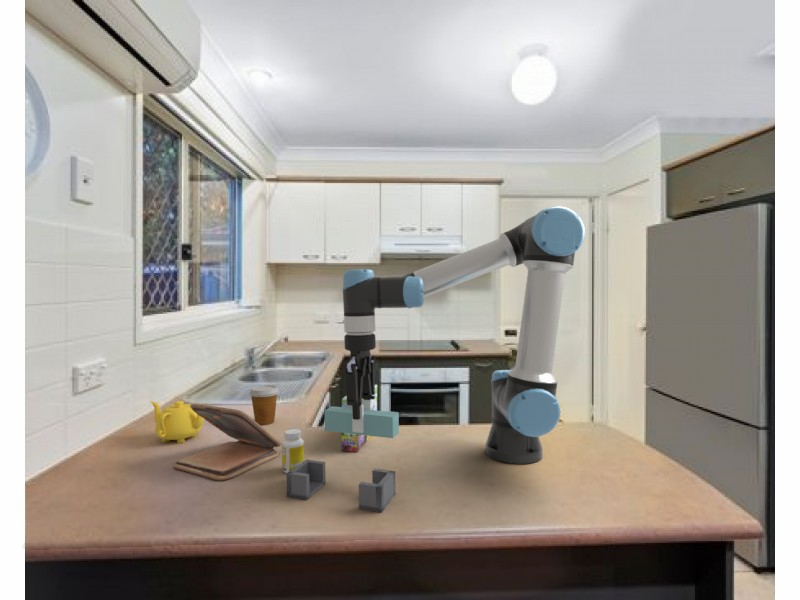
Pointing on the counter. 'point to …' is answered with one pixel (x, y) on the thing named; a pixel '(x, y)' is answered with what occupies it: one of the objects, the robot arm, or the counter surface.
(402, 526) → the counter surface
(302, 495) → the end cap far
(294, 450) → the supplement bottle
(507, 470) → the counter surface
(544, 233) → the robot arm
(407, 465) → the counter surface
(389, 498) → the end cap near
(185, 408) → the teapot
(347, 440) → the snack box
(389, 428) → the teal rectangular bar
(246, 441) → the case
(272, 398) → the disposable coffee cup
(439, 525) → the counter surface
